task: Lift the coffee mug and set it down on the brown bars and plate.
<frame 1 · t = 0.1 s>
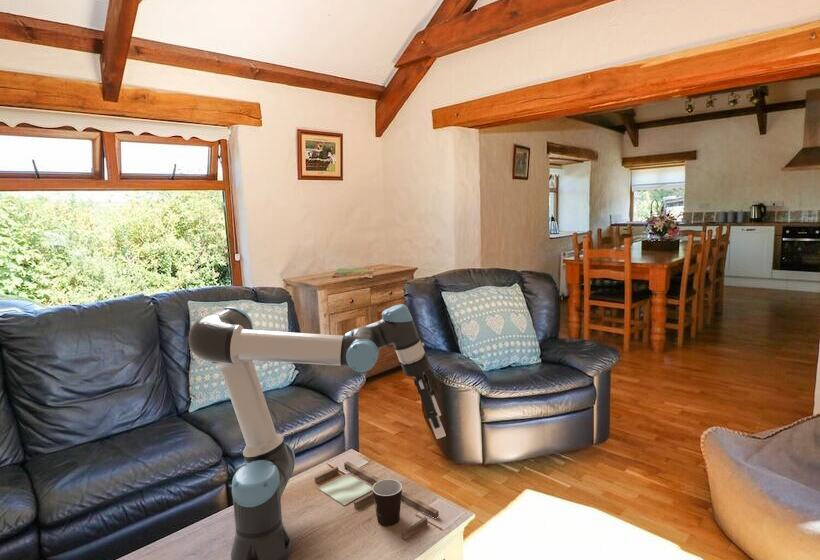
hand: (439, 426, 139), 28 cm above the table, tool tilted 20°, fingers open, 13 cm apart
coffee mug: (389, 516, 144), on the table
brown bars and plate: (366, 502, 151), on the table
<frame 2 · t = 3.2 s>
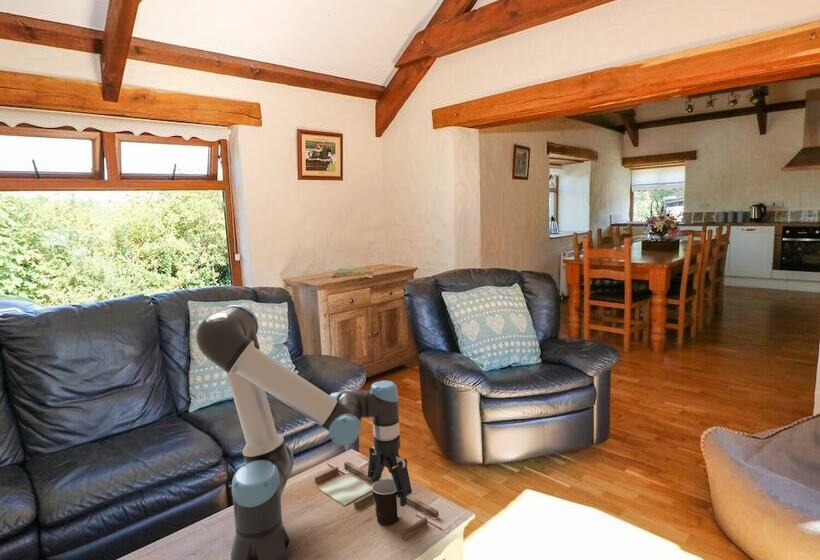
hand: (390, 508, 143), 3 cm above the table, tool pointing down, fingers closed on coffee mug, 9 cm apart
coffee mug: (389, 516, 144), on the table, touching gripper
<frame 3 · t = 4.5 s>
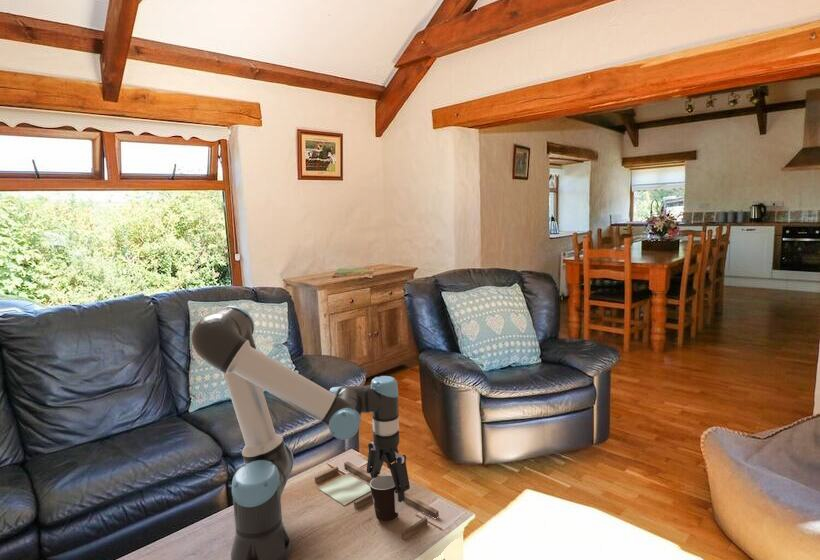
hand: (388, 503, 143), 4 cm above the table, tool pointing down, fingers closed on coffee mug, 9 cm apart
coffee mug: (388, 513, 144), point 1 cm above the table, touching gripper
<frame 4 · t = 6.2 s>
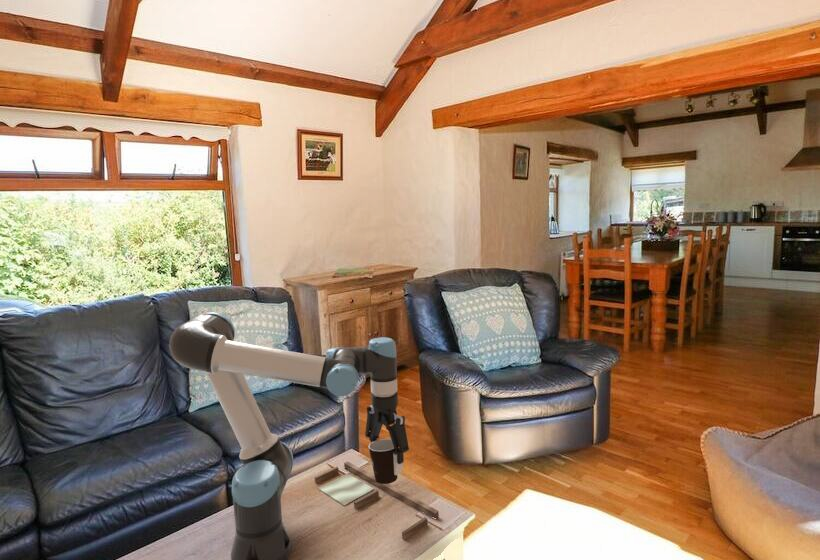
hand: (387, 467, 142), 15 cm above the table, tool pointing down, fingers closed on coffee mug, 9 cm apart
coffee mug: (387, 476, 142), point 12 cm above the table, touching gripper
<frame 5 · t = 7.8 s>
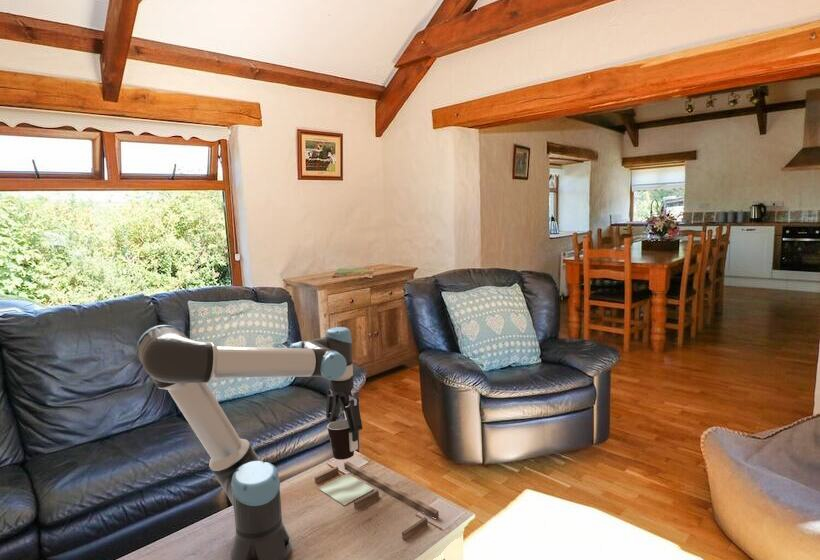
hand: (344, 445, 156), 15 cm above the table, tool pointing down, fingers closed on coffee mug, 9 cm apart
coffee mug: (345, 453, 156), point 12 cm above the table, touching gripper
when the fingers open (4 cm above the table, at t = 11.0 s): coffee mug stays where it is, resting on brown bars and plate.
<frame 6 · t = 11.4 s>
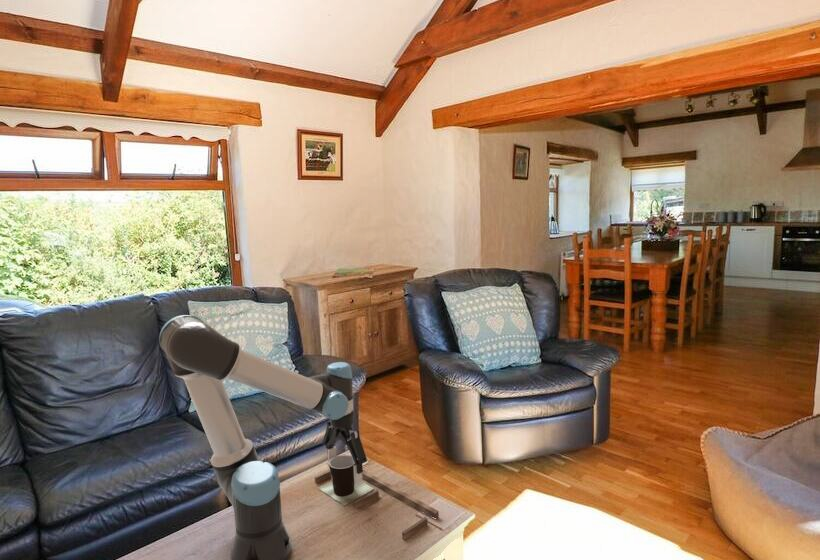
hand: (345, 474, 158), 5 cm above the table, tool pointing down, fingers open, 13 cm apart
coffee mug: (345, 488, 158), resting on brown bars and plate
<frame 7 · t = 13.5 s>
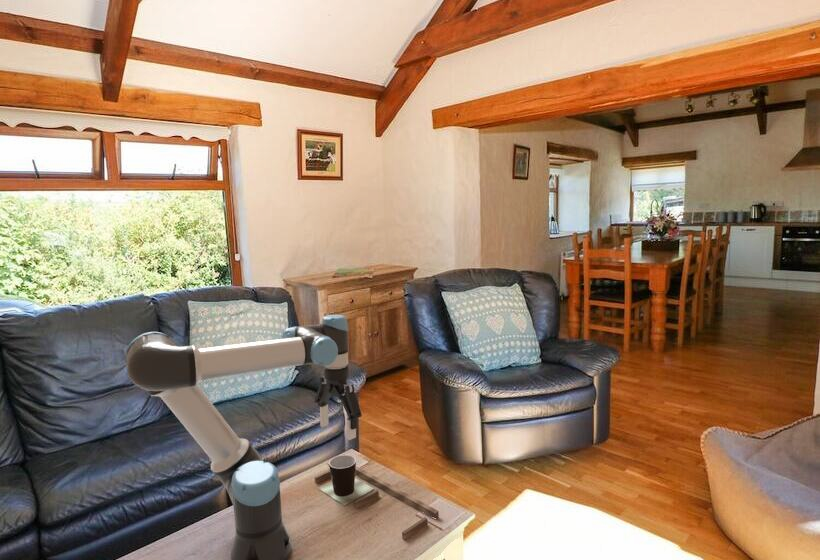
hand: (337, 432, 152), 21 cm above the table, tool pointing down, fingers open, 13 cm apart
nothing on the table moved.
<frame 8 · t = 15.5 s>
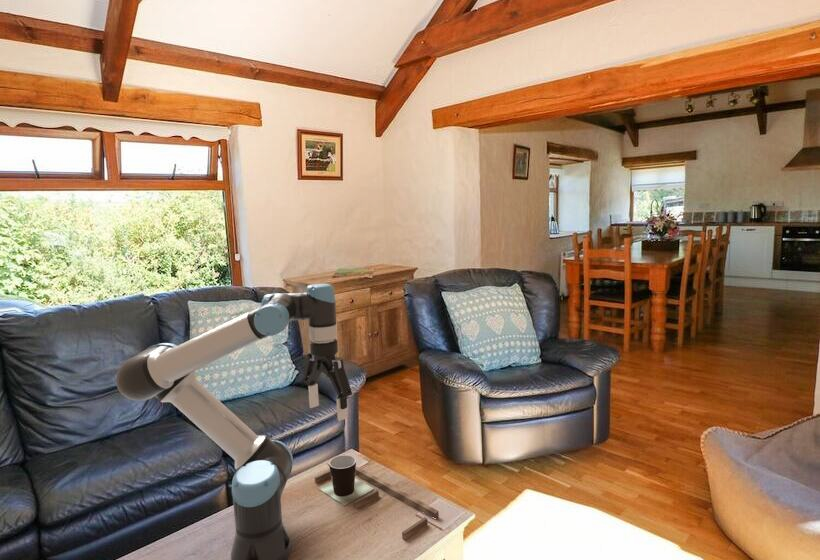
hand: (327, 412, 139), 33 cm above the table, tool pointing down, fingers open, 13 cm apart
nothing on the table moved.
at the end: coffee mug inside the target area (0.1 cm from its centre), resting on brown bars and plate; coffee mug tilted 0°; the gripper is holding nothing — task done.
